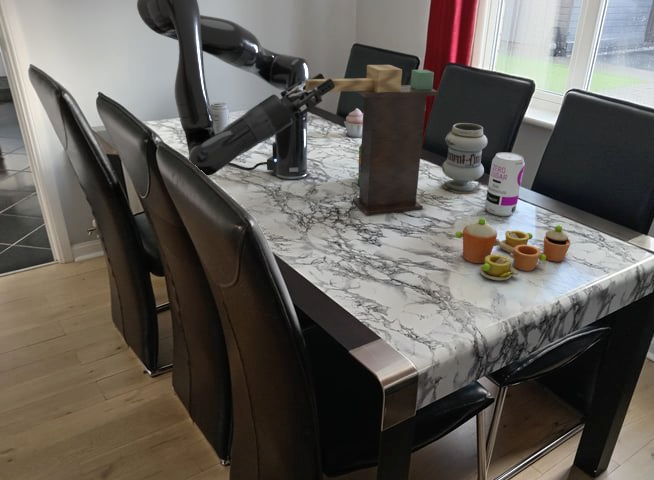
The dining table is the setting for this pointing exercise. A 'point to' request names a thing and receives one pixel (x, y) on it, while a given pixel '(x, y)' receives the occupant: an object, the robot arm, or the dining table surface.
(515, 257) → the toy tea set
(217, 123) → the energy drink can
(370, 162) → the stand
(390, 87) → the mallet
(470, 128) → the apothecary jar
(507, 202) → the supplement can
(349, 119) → the cupcake
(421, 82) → the block
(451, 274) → the dining table surface
